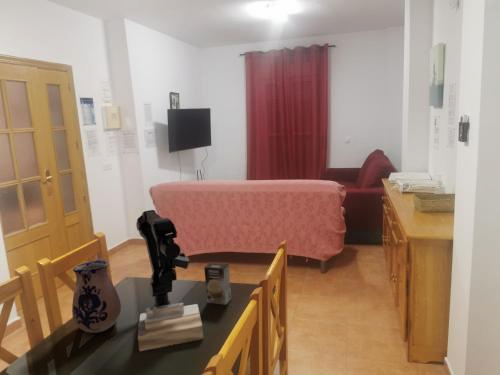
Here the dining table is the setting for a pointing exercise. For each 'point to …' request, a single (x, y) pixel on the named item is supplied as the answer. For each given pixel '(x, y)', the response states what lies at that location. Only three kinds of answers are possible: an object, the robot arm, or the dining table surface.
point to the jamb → (187, 311)
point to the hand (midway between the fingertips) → (169, 290)
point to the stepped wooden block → (169, 332)
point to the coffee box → (217, 283)
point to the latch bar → (164, 310)
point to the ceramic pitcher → (94, 297)
